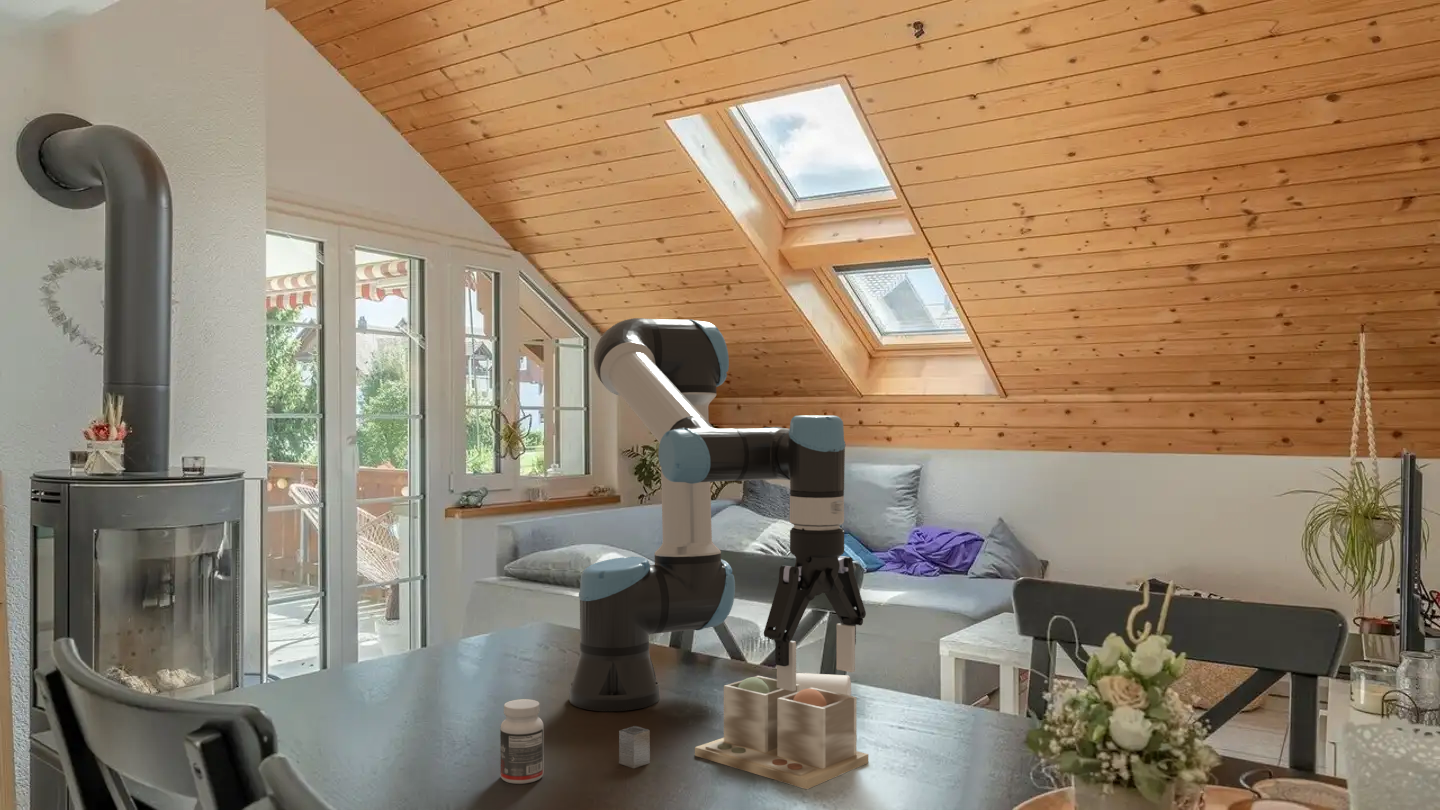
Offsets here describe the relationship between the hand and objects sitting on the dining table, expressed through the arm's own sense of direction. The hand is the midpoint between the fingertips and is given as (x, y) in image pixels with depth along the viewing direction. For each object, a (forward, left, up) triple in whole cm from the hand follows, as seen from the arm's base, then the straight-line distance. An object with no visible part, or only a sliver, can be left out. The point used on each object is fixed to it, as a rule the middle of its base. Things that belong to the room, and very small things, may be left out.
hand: (817, 679), depth 151 cm
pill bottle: (-26, -31, -12) cm, 42 cm away
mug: (-12, +16, -12) cm, 23 cm away
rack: (-5, -2, -12) cm, 13 cm away
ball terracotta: (-1, -1, -4) cm, 4 cm away
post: (-19, -17, -12) cm, 28 cm away
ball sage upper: (-11, -1, -4) cm, 12 cm away
